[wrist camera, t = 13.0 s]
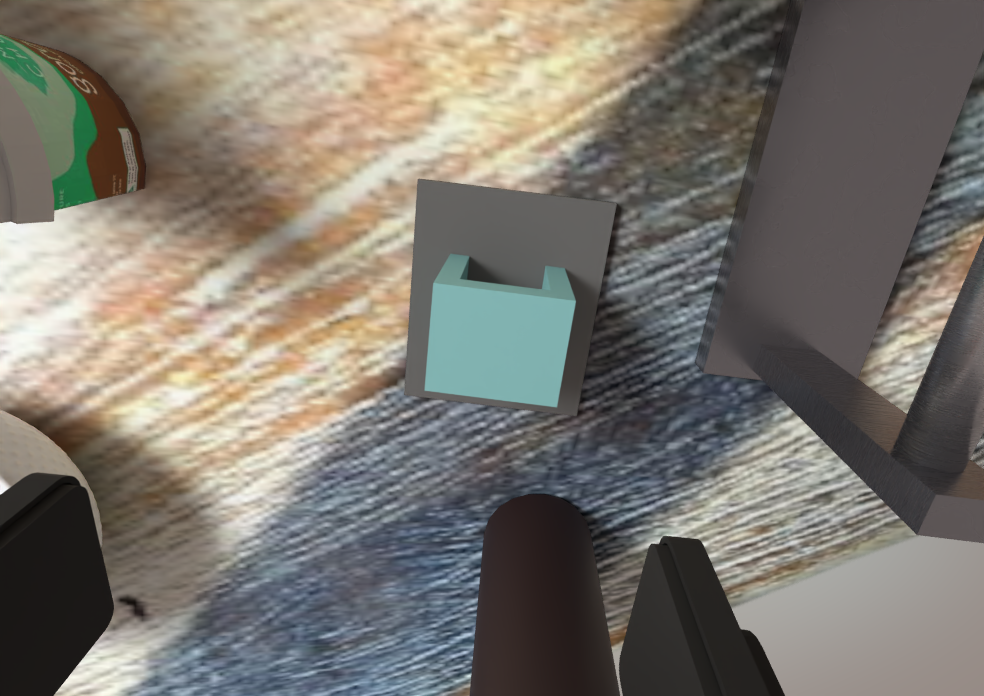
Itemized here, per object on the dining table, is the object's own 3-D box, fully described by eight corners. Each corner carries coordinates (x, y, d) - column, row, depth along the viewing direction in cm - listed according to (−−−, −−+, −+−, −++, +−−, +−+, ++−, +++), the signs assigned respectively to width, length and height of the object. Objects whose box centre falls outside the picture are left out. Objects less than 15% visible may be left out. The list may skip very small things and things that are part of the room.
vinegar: (494, 582, 37) (470, 1032, 18) (474, 498, 35) (423, 915, 16) (596, 570, 36) (677, 1027, 18) (582, 483, 34) (660, 903, 15)
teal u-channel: (450, 253, 29) (433, 282, 23) (564, 268, 29) (575, 301, 23) (442, 342, 31) (424, 390, 25) (549, 356, 31) (556, 407, 25)
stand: (823, -124, 23) (1255, -494, 10) (1015, -101, 23) (1720, -439, 10) (695, 362, 31) (831, 537, 17) (837, 379, 31) (1085, 569, 17)
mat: (419, 178, 28) (417, 179, 28) (615, 202, 28) (616, 203, 28) (405, 392, 32) (404, 394, 32) (575, 412, 32) (576, 415, 32)
